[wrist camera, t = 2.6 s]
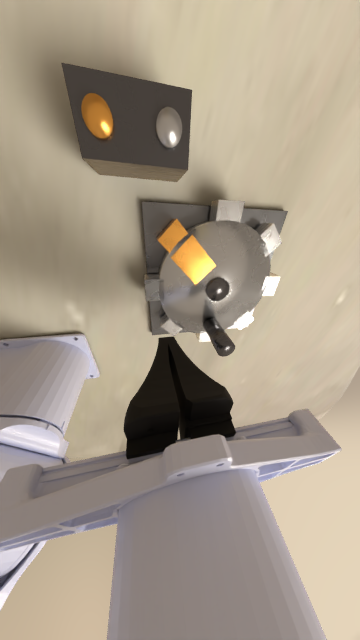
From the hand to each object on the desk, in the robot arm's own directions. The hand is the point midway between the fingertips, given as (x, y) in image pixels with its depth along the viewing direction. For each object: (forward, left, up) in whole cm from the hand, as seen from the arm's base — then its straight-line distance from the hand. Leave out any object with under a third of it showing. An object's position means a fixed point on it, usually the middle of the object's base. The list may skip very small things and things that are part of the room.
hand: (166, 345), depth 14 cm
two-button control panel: (-1, +14, -6) cm, 15 cm away
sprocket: (+6, +4, -6) cm, 9 cm away
